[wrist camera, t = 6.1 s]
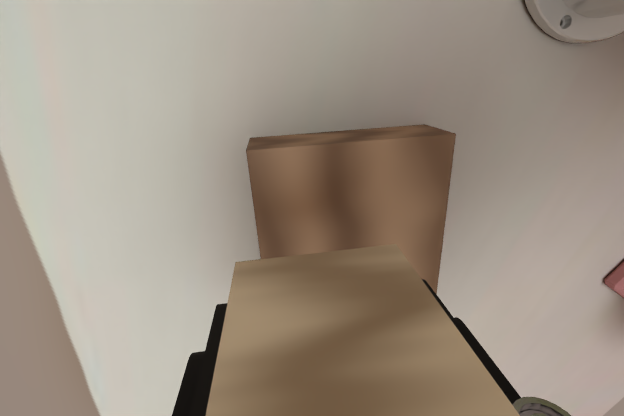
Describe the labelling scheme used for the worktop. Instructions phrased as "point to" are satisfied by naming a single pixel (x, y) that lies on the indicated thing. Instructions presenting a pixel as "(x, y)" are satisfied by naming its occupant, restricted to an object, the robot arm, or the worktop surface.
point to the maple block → (344, 342)
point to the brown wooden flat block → (353, 192)
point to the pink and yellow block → (616, 280)
